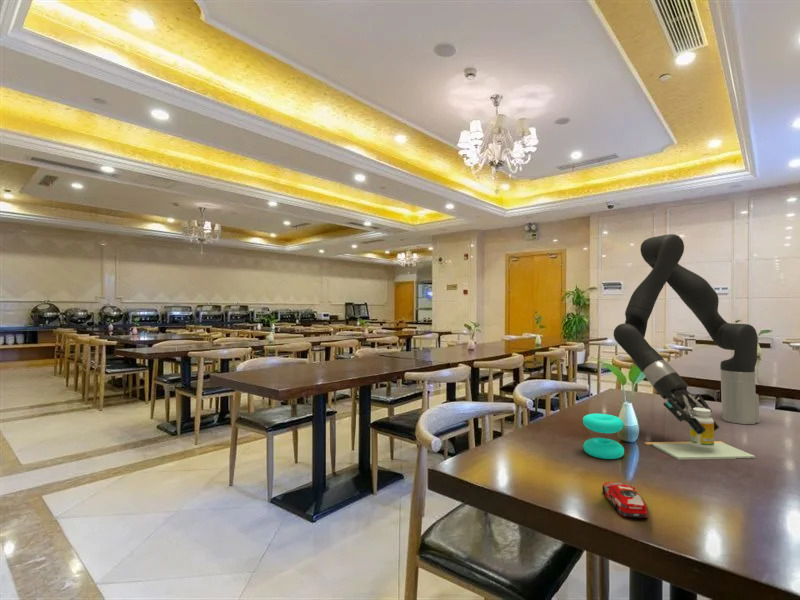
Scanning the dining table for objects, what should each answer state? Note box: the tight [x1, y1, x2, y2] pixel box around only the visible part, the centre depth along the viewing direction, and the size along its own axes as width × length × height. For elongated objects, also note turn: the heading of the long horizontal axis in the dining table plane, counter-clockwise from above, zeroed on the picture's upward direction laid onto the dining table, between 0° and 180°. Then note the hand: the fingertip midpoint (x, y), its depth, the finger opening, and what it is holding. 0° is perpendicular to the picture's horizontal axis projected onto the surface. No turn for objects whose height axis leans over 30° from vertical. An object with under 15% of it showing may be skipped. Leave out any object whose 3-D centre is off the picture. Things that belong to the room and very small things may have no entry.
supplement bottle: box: [689, 407, 715, 448], centre depth 114 cm, size 5×5×10 cm
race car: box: [601, 481, 649, 519], centre depth 85 cm, size 13×5×4 cm, turn 170°
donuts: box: [582, 413, 625, 460], centre depth 114 cm, size 10×10×10 cm
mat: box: [652, 442, 756, 461], centre depth 114 cm, size 20×11×1 cm, turn 90°
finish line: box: [644, 440, 725, 446], centre depth 121 cm, size 22×2×1 cm, turn 90°
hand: (709, 430), depth 112 cm, fingers closed on supplement bottle, 5 cm apart
